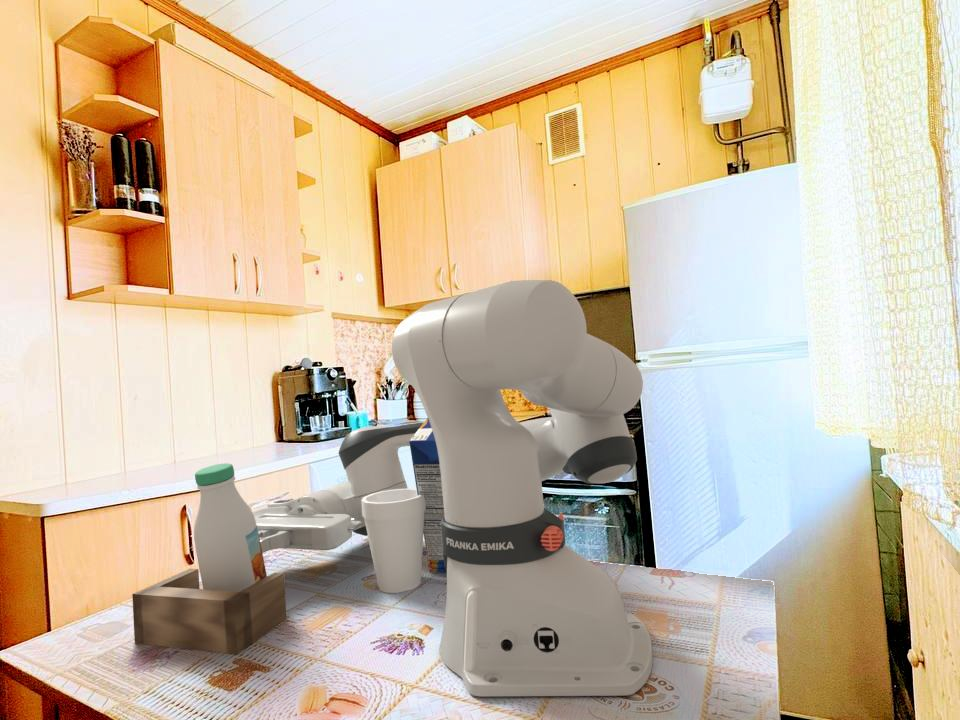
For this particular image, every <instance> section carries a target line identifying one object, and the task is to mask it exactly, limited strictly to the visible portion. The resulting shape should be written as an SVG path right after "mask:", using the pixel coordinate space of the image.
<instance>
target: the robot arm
mask: <svg viewBox="0 0 960 720" xmlns="http://www.w3.org/2000/svg"><path fill="white" fill-rule="evenodd" d="M586 320H587V319H586V316H585V313H584V310H583V308H582V306H581V304H580V302H579V300H578V299H577V297H576V296H575V295H574V294H573V292H572V291H571V290H570V289H568V287H567V286H565V285H564V284H563V283H561V282H559V281H556V280H549V279H548V280H547V279H545V280H544V279H542V280H541V279H539V280H537V279H528V280H522V279H521V280H511V281H507V282H503V283H500V284H499V283H498V284H496V285H492V286H489V287H484V288H481V289H478V290H473V291H471V292H465V293H462V294H458V295H454V296H452V297H447V298H444V299H440V300H436V301H433V302H430V303H427V304H425V305H423V306H422V307H420V308H419V309H417V310H416V311H414V312H412V313H411V314H409V315H408V316H407V317H405V318H404V319H403V320H401V322H400V323H399V324H398V325H397V327H396V328H395V330H394V332H393V336H392V342H391V354H392V359H393V362H394V365H395V367H396V369H397V371H398V372H399V374H400V376H402V377H403V378H404V379H405V380H406V382H408V384H410V386H412V388H413V389H414V390H415V393H416V394H417V396H418V398H419V400H420V402H421V404H422V406H423V409H424V412H425V415H426V416H427V418H428V419H429V422H430V425H431V428H432V431H433V434H434V437H435V441H436V446H437V450H438V456H439V464H440V473H441V483H442V494H443V505H444V516H443V517H442V519H441V531H442V533H441V542H442V552H443V558H444V565H445V567H446V568H447V573H446V593H445V594H446V597H445V612H444V621H443V626H442V632H441V633H442V634H441V637H440V639H441V640H440V644H439V649H438V651H439V656H440V659H441V660H442V662H443V663H444V665H445V666H446V667H447V668H448V669H450V670H451V671H453V672H454V673H455V674H457V675H458V676H459V677H461V679H462V681H463V683H464V686H465V689H466V690H467V691H468V692H469V694H470V695H472V696H474V697H585V696H586V697H591V696H592V697H594V696H595V697H597V696H598V697H601V696H603V697H604V696H607V697H608V696H610V697H611V696H612V697H613V696H630V695H634V694H635V693H637V692H638V691H640V689H642V688H643V686H644V685H645V684H646V683H647V681H648V679H649V677H650V676H651V673H652V670H653V669H652V668H653V664H654V663H653V662H654V653H653V651H654V650H653V646H652V641H651V640H652V639H651V635H650V633H649V630H648V628H647V627H646V625H645V624H644V623H643V621H642V620H641V619H639V618H638V617H637V616H636V615H634V614H632V613H627V611H626V608H625V604H624V601H623V598H622V595H621V592H620V590H619V588H618V585H617V583H616V582H615V580H614V579H613V578H612V577H611V575H610V574H608V573H607V572H606V571H604V570H602V569H601V568H600V567H598V566H597V565H595V563H592V562H591V561H589V560H588V559H586V558H585V557H584V556H583V555H581V554H579V552H577V551H575V550H574V549H572V548H571V547H569V546H568V545H567V544H566V532H565V531H566V530H565V526H564V525H565V521H564V514H563V513H562V512H560V513H559V515H556V514H554V513H553V512H551V511H550V510H548V509H547V508H545V505H544V495H543V486H542V485H543V484H542V482H544V481H546V480H548V479H551V478H553V477H555V476H559V475H560V474H562V473H565V474H567V475H572V476H573V477H574V478H576V479H577V480H579V481H581V482H584V483H585V484H589V485H595V484H597V485H598V484H606V483H611V482H615V481H616V480H619V479H621V478H622V477H623V476H625V475H627V474H628V473H630V471H631V470H633V468H634V466H635V465H636V464H637V463H636V462H637V461H638V456H637V449H636V445H635V440H634V438H632V437H631V434H630V431H629V427H628V424H627V421H626V418H625V415H624V414H626V413H628V412H629V411H631V410H632V409H633V408H634V407H635V406H636V405H637V403H638V402H639V400H640V398H641V396H642V393H643V387H644V380H643V376H642V372H641V370H640V369H639V367H638V366H637V364H636V363H635V362H634V361H633V360H632V359H631V358H630V357H629V356H627V355H626V354H625V353H624V352H622V351H621V350H620V349H618V348H617V347H615V346H614V345H612V344H610V343H608V342H606V341H604V340H603V339H600V338H598V337H596V336H594V335H591V334H590V333H587V330H588V329H587V327H588V326H587V321H586ZM501 390H514V391H520V393H521V394H522V396H523V397H524V398H525V399H526V400H527V401H529V402H530V403H531V404H534V405H537V406H540V407H544V408H548V409H549V411H550V414H551V416H548V417H540V418H535V419H530V420H529V419H528V420H526V421H525V420H524V421H521V422H518V421H517V419H516V418H514V416H513V415H512V413H511V412H510V410H509V409H508V407H507V404H506V402H505V400H504V397H503V394H502V391H501ZM423 423H424V422H416V423H409V424H402V425H397V426H380V425H379V426H375V425H374V426H373V425H372V426H370V425H369V426H364V427H360V428H357V429H355V430H353V431H351V432H349V433H346V435H345V437H344V439H343V441H342V442H341V445H340V447H339V450H338V455H339V458H340V461H341V465H342V466H343V469H344V470H345V473H346V476H347V481H344V482H342V483H338V484H335V485H332V486H330V487H328V488H327V489H321V490H318V491H315V492H312V493H309V494H303V495H301V496H298V497H297V498H296V497H295V498H289V499H283V500H282V499H281V500H274V501H271V502H269V503H267V507H266V508H265V507H264V508H261V509H257V510H255V511H252V513H253V515H254V518H255V521H256V525H257V529H258V533H259V538H260V543H261V548H262V553H263V554H264V553H266V552H269V551H271V550H278V549H287V550H288V549H289V550H311V551H312V550H313V551H330V550H334V549H337V548H338V547H341V546H342V545H344V544H345V543H346V542H348V541H349V540H350V539H351V538H352V537H353V536H352V535H353V533H354V534H357V535H362V536H365V537H368V535H367V530H366V525H365V520H364V517H362V503H361V500H362V499H363V497H365V496H368V495H370V494H373V493H377V492H381V491H387V490H394V489H409V487H408V485H407V481H406V479H405V478H406V477H405V474H404V472H403V468H402V464H401V462H400V457H399V449H400V448H405V447H410V443H409V441H410V440H411V438H412V437H413V436H414V435H415V433H416V432H417V431H418V429H419V428H420V427H421V426H422V424H423Z"/></svg>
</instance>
